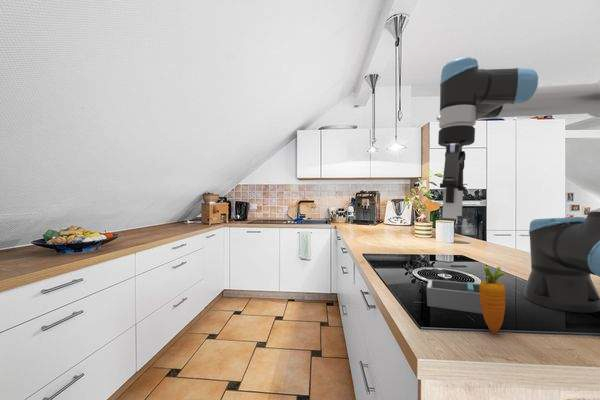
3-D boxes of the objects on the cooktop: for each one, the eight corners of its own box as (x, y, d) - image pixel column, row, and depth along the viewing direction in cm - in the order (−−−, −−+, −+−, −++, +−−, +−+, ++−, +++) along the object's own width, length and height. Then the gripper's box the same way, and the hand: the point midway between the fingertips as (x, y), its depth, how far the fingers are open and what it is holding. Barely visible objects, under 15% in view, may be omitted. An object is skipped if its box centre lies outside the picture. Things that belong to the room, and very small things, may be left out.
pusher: (472, 298, 76) (472, 282, 76) (474, 306, 71) (473, 289, 71) (467, 297, 77) (467, 282, 77) (469, 305, 72) (468, 288, 72)
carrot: (502, 329, 61) (499, 263, 61) (512, 340, 56) (509, 268, 56) (477, 327, 62) (474, 262, 62) (485, 338, 58) (482, 268, 57)
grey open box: (497, 303, 75) (496, 285, 75) (502, 316, 67) (502, 296, 67) (429, 295, 83) (428, 279, 83) (427, 306, 75) (426, 288, 75)
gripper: (445, 139, 77) (442, 214, 77) (429, 116, 56) (426, 218, 57) (476, 136, 72) (473, 215, 73) (472, 111, 52) (468, 221, 52)
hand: (452, 217), depth 65 cm, fingers open, 13 cm apart
